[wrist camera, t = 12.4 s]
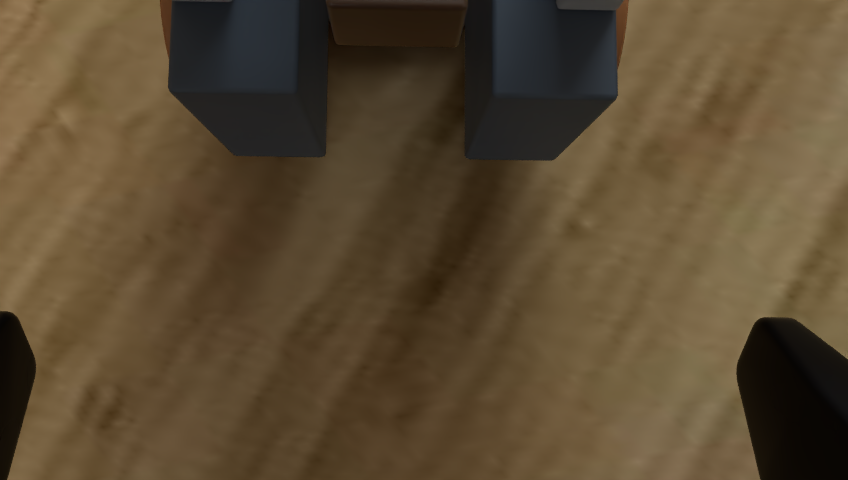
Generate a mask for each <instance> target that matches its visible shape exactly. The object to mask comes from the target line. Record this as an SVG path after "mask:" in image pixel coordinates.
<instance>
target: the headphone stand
mask: <svg viewBox="0 0 848 480" xmlns="http://www.w3.org/2000/svg"><path fill="white" fill-rule="evenodd" d="M326 6H327V10H328V15H329V21H330V24H331V28H332V33H333V37H334V40H335V43H336V44H339V45H366V46H415V47H456V46H458V44H459V42H460V38H461V34H462V30H463V25H465V17H466V13H467V8H468V0H326Z"/></svg>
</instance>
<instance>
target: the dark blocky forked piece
mask: <svg viewBox="0 0 848 480" xmlns="http://www.w3.org/2000/svg"><path fill="white" fill-rule="evenodd" d="M628 1H629V0H468V8H467V13H466V17H465V157H466V158H467V159H483V160H551V161H552V160H554V159H556V158H557V157H558V156H559V155H560V154H561V153H562V152H563V151H564V150H565V149H566V148H567V147H568V146H569V145H570V144H571V143H572V142H573V141H574V140H575V139H576V138H577V137H578V136H579V135H580V134H581V133H582V132H583V131H584V130H585V129H586V128H587V127H588V126H589V125H590V124H591V123H592V122H593V121H595V120H596V119H597V118H598V117H599V116H600V115H601V114H602V113H603V112H604V111H605V110H606V109H607V108H608V107H609V106H610V105H611V104H612V103H613V102H614V101H615V100H616V98H617V96H618V85H617V69H618V66H619V62H620V58H621V53H622V48H623V43H624V37H625V30H626V22H627V13H628ZM160 7H161V17H162V25H163V32H164V38H165V44H166V48H167V53H168V57H169V77H168V88H169V91H170V92H171V93H172V94H173V95H174V96H175V97H176V98H177V99H178V100H179V101H180V102H181V103H182V104H183V105H184V106H185V107H186V108H187V109H188V110H189V111H190V112H191V113H192V114H193V115H194V116H195V117H196V118H197V119H198V120H199V121H200V122H201V123H202V124H203V125H204V126H205V127H206V128H207V129H208V130H209V131H210V132H211V133H212V134H213V135H214V136H215V137H216V138H217V139H218V140H219V141H220V142H221V143H222V144H223V145H224V146H225V147H226V148H227V149H228V150H229V151H230V152H231V153H232V154H233V155H236V156H276V157H323V156H325V154H326V121H327V71H328V22H329V15H328V10H327V6H326V0H160Z"/></svg>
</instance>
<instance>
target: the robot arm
mask: <svg viewBox="0 0 848 480" xmlns="http://www.w3.org/2000/svg"><path fill="white" fill-rule="evenodd" d="M35 374H36V362H35V357H34V354H33V352H32V350H31V347H30V345H29V343H28V340H27V338H26V336H25V333H24V331H23V328H22V326H21V324H20V321H19V320H18V318H17V316H15V315H14V314H13V313H11V312H8V311H0V480H7V478H8V475H9V471H10V468H11V464H12V460H13V457H14V453H15V449H16V446H17V442H18V438H19V434H20V431H21V427H22V423H23V420H24V416H25V412H26V409H27V405H28V401H29V398H30V394H31V390H32V386H33V383H34V379H35ZM736 374H737V382H738V386H739V391H740V395H741V399H742V403H743V408H744V412H745V416H746V420H747V425H748V429H749V433H750V437H751V442H752V446H753V450H754V454H755V459H756V463H757V467H758V471H759V475H760V479H761V480H848V359H847V358H845V357H844V356H843V355H841V354H840V353H839V352H838V351H836V350H835V349H834V348H832V347H831V346H830V345H828V344H827V343H826V342H824V341H823V340H822V339H821V338H819V337H818V336H817V335H815V334H814V333H813V332H811V331H810V330H809V329H807V328H806V327H805V326H804V325H802V324H801V323H800V322H798V321H796V320H795V319H792V318H776V317H764V318H760V319H758V320H757V321H756V322H755V324H754V325H753V327H752V330H751V332H750V334H749V337H748V339H747V341H746V344H745V346H744V348H743V351H742V353H741V355H740V358H739V360H738V363H737V372H736Z"/></svg>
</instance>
